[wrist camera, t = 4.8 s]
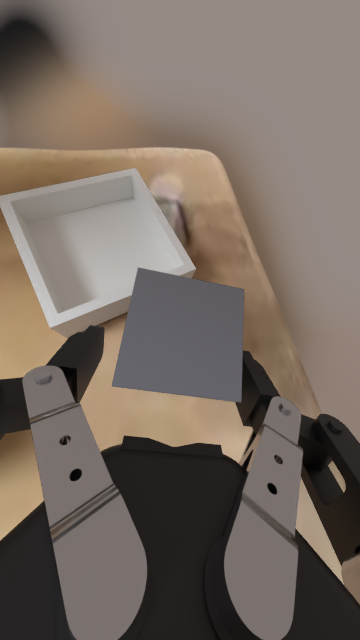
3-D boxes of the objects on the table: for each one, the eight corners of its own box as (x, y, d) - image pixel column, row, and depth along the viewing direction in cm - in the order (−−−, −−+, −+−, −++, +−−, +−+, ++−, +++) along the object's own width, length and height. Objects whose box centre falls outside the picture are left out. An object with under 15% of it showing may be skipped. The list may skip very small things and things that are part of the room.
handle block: (131, 383, 18) (111, 386, 6) (140, 335, 19) (137, 267, 8) (179, 389, 18) (241, 402, 7) (185, 342, 20) (244, 289, 8)
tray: (67, 337, 18) (50, 327, 14) (20, 227, 20) (-4, 196, 17) (187, 286, 21) (196, 268, 18) (136, 197, 24) (135, 167, 20)
